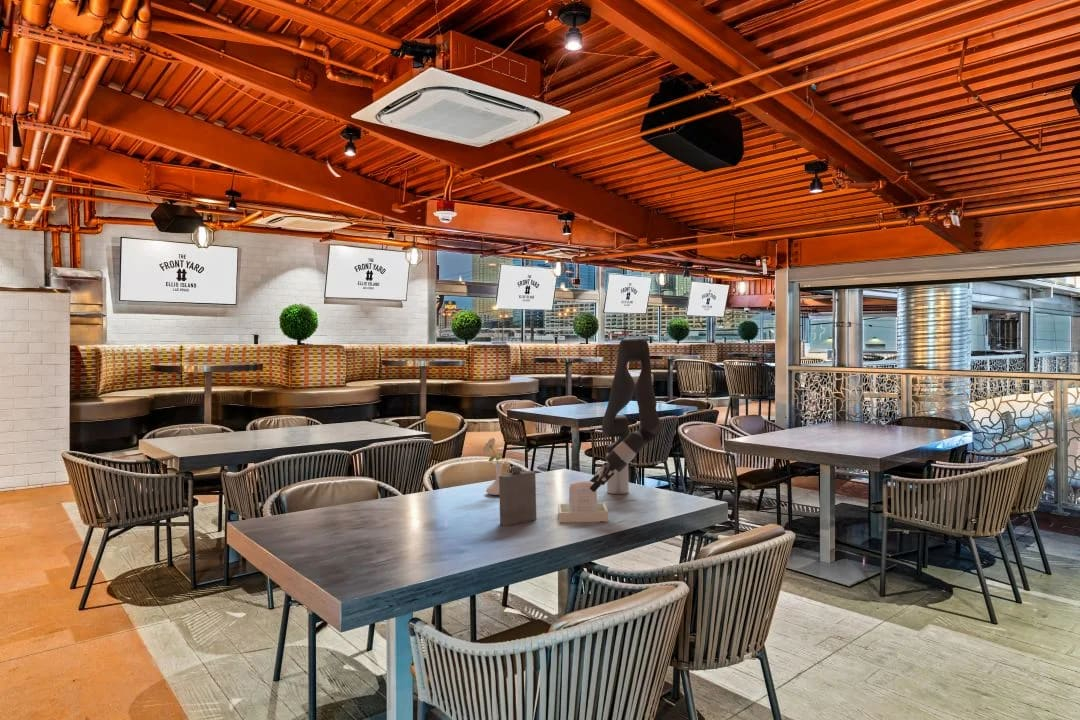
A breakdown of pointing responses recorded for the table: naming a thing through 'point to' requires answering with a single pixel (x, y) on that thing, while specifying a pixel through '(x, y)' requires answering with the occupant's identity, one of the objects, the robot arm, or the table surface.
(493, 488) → the flower in vase
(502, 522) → the flask
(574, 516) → the trough
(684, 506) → the table surface
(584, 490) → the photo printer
